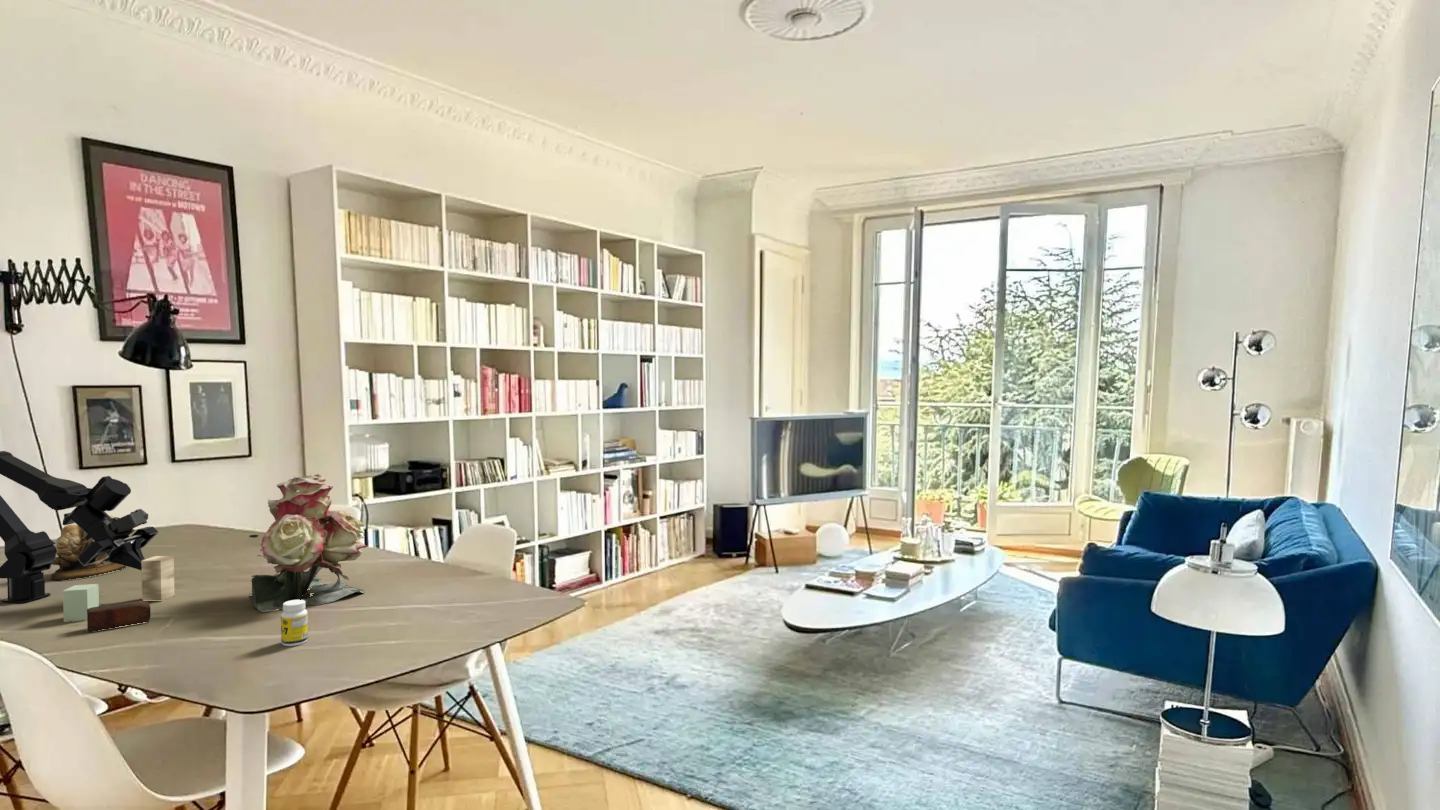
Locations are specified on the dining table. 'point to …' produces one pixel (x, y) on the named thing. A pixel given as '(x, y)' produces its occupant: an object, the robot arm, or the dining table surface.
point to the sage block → (79, 601)
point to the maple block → (157, 578)
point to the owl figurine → (68, 558)
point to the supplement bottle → (294, 623)
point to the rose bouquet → (305, 546)
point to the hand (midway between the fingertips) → (145, 569)
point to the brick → (117, 615)
